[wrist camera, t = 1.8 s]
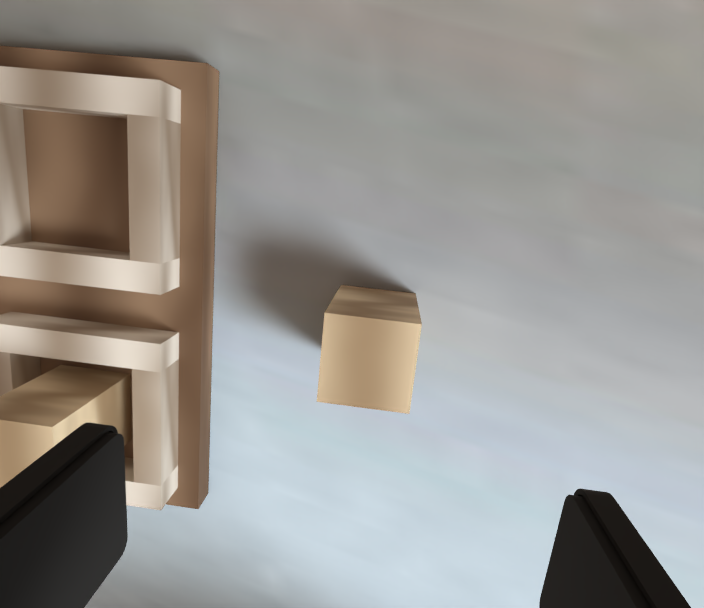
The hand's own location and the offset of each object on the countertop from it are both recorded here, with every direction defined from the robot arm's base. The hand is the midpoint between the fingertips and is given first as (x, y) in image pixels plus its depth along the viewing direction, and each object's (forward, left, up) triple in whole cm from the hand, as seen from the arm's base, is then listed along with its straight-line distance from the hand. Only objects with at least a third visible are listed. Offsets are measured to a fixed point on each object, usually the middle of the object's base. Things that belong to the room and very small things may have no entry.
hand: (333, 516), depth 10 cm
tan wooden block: (0, 0, -16) cm, 16 cm away
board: (+15, 0, -16) cm, 22 cm away
